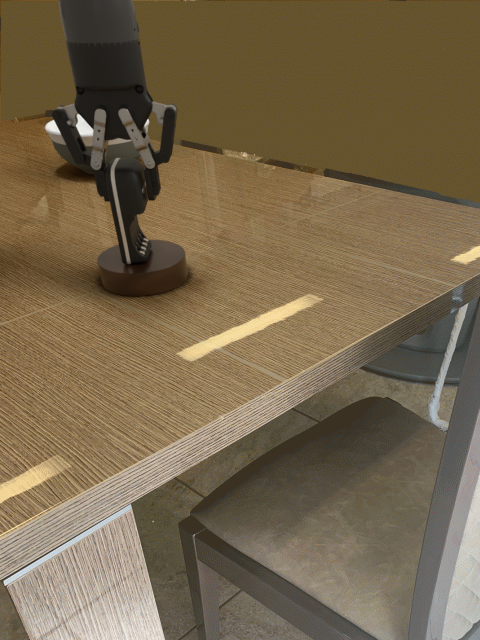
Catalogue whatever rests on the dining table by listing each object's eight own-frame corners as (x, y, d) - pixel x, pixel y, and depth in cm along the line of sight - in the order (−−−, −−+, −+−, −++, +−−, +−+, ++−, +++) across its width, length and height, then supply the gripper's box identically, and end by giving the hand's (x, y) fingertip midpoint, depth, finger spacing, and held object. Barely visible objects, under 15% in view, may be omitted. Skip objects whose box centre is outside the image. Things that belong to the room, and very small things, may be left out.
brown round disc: (93, 297, 79) (88, 274, 77) (111, 261, 88) (106, 240, 86) (183, 294, 80) (180, 272, 78) (191, 259, 88) (189, 238, 87)
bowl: (144, 182, 116) (136, 134, 111) (41, 183, 116) (29, 134, 111) (164, 155, 131) (157, 111, 126) (72, 155, 131) (62, 111, 126)
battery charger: (153, 265, 79) (137, 169, 73) (122, 266, 79) (102, 171, 72) (158, 244, 85) (143, 153, 78) (129, 245, 85) (112, 154, 78)
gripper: (21, 40, 64) (63, 211, 74) (166, 39, 65) (187, 208, 75) (42, 31, 70) (78, 191, 80) (174, 30, 71) (193, 188, 81)
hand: (131, 198), depth 78 cm, fingers open, 4 cm apart
